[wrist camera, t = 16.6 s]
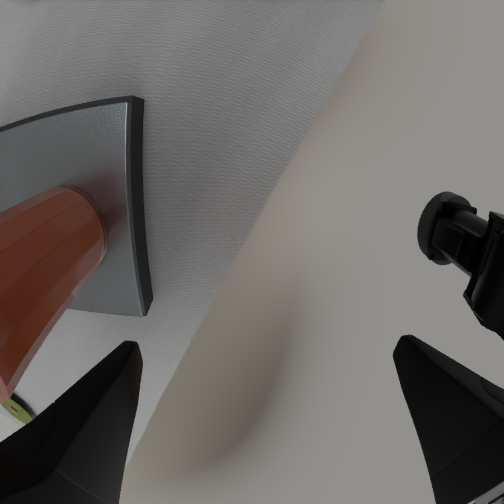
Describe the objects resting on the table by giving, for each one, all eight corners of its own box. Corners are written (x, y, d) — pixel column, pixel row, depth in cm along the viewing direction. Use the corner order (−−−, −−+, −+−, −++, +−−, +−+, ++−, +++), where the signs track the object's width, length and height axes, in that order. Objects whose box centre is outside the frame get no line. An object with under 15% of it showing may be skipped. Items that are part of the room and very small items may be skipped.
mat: (16, 412, 33) (13, 418, 31) (-12, 379, 28) (-16, 385, 27) (47, 425, 34) (45, 432, 32) (18, 390, 29) (14, 398, 27)
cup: (65, 165, 14) (-84, 232, 3) (123, 247, 17) (26, 390, 6) (19, 225, 15) (-85, 308, 4) (69, 293, 18) (-7, 408, 7)
